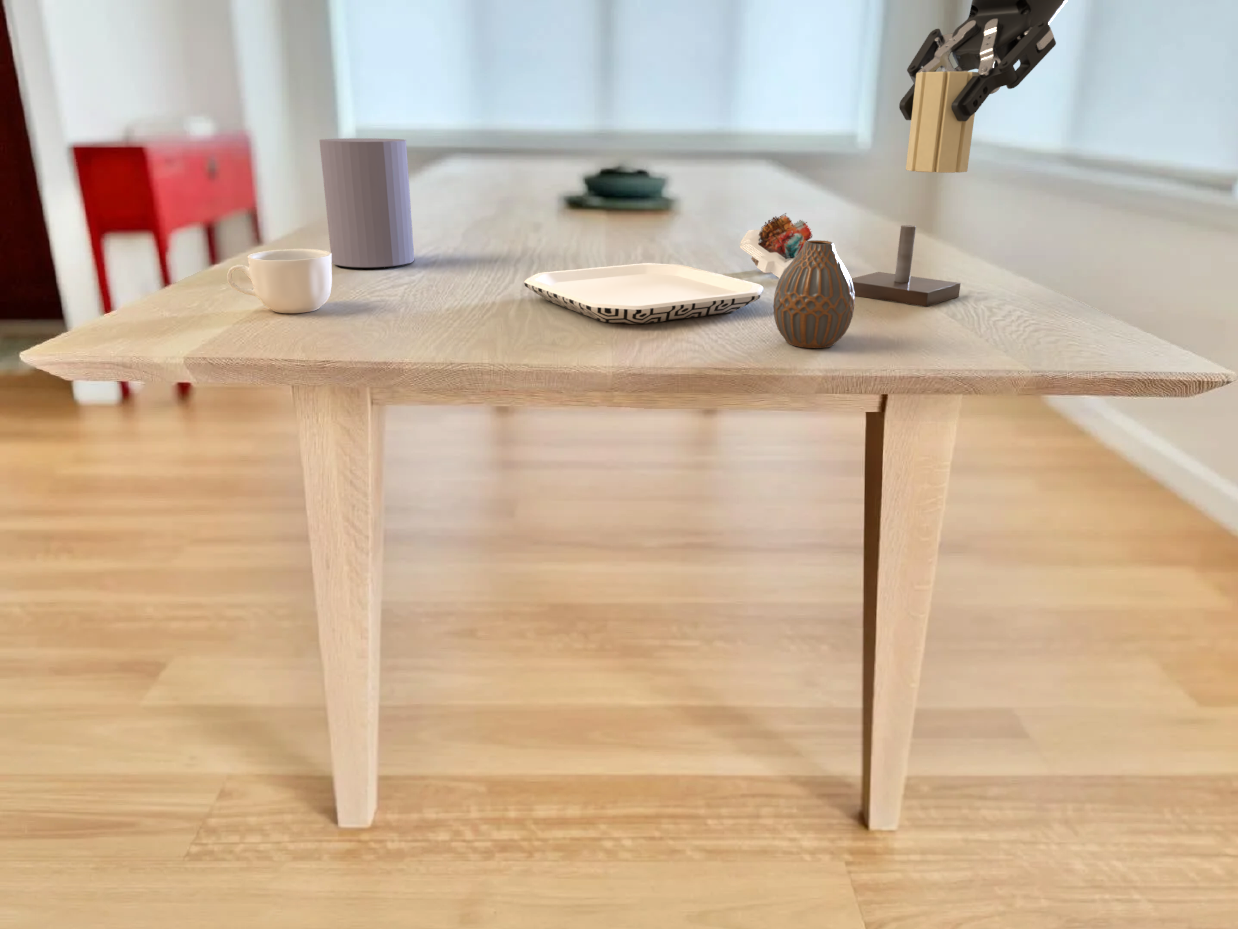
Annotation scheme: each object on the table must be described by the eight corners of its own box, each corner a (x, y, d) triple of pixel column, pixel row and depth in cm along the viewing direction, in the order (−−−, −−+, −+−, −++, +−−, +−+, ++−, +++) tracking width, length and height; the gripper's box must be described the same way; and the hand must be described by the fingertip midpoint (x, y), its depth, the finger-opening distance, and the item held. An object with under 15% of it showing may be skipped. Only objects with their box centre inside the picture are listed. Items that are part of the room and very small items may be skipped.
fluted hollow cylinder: (975, 170, 92) (988, 72, 89) (950, 173, 88) (963, 70, 85) (922, 168, 96) (933, 73, 92) (896, 170, 92) (907, 72, 89)
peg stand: (958, 296, 102) (969, 227, 100) (926, 306, 97) (935, 233, 94) (877, 284, 109) (884, 218, 106) (841, 293, 103) (848, 224, 100)
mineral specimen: (780, 243, 124) (794, 193, 120) (843, 283, 118) (860, 232, 113) (714, 259, 118) (726, 206, 114) (777, 301, 111) (792, 248, 107)
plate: (782, 311, 94) (784, 289, 93) (608, 334, 84) (609, 310, 83) (667, 279, 110) (668, 260, 110) (510, 295, 100) (510, 274, 99)
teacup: (339, 300, 97) (334, 247, 95) (334, 315, 90) (328, 259, 88) (238, 303, 95) (230, 250, 93) (225, 319, 88) (216, 262, 86)
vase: (855, 338, 84) (866, 239, 80) (843, 356, 78) (854, 250, 74) (780, 331, 86) (787, 234, 83) (762, 347, 80) (769, 244, 77)
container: (354, 272, 112) (342, 142, 107) (318, 262, 119) (305, 138, 114) (429, 264, 119) (421, 140, 113) (390, 254, 126) (381, 137, 120)
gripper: (956, -39, 94) (859, 85, 93) (1086, -59, 83) (977, 82, 81) (984, 21, 99) (891, 141, 97) (1110, 10, 87) (1007, 145, 86)
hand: (931, 113), depth 89 cm, fingers closed on fluted hollow cylinder, 6 cm apart
